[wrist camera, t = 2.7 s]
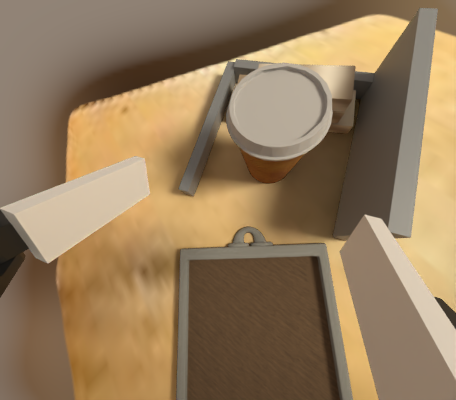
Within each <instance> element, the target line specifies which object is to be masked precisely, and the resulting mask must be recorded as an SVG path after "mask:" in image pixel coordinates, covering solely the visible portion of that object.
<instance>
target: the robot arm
mask: <svg viewBox="0 0 456 400" xmlns="http://www.w3.org/2000/svg"><path fill="white" fill-rule="evenodd" d="M148 195H150V190H149V184H148V177H147V170H146V164H145V159H144V158H140V157H137V156H134V157H131V158H129V159H126V160H124V161H121V162H118V163H116V164H113V165H111V166H108V167H105V168H103V169H100V170H98V171H95V172H92V173H90V174H87V175H85V176H82V177H79V178H77V179H74V180H72V181H69V182H66V183H64V184H61V185H59V186H56V187H53V188H51V189H49V190H46V191H43V192H41V193H38V194H35V195H33V196H30V197H27V198H25V199H22V200H20V201H17V202H15V203H12V204H9V205H7V206H4V207H1V208H0V297H1V295H2V294H3V293H4V291H5V289H6V288H7V286H8V285H9V283H10V281H11V280H12V278H13V277H14V275H15V274H16V272H17V270H18V269H19V267H20V266H21V264H22V262H23V261H24V259H25V254H24V253H23V252H24V251H25V250H27V249H30V251H31V252H32V253H33V255H34V256H35V258H37V259H39V260H41V261H43V262H46V263H49V262H51V261H52V260H54V259H55V258H57V257H58V256H60V255H61V254H63V253H64V252H66V251H67V250H69V249H70V248H72V247H73V246H75V245H76V244H78V243H79V242H80V241H82V240H83V239H85V238H86V237H88V236H89V235H91V234H92V233H94V232H95V231H97V230H98V229H100V228H101V227H102V226H104V225H105V224H107V223H108V222H110V221H111V220H113V219H114V218H116V217H117V216H119V215H120V214H122V213H123V212H125V211H126V210H127V209H129V208H130V207H132V206H133V205H135V204H136V203H138V202H139V201H141V200H142V199H144V198H145V197H147V196H148ZM340 255H341V258H342V262H343V266H344V270H345V274H346V277H347V281H348V285H349V289H350V292H351V296H352V300H353V304H354V308H355V311H356V315H357V319H358V323H359V326H360V330H361V334H362V338H363V341H364V345H365V349H366V353H367V357H368V360H369V364H370V368H371V372H372V375H373V379H374V383H375V387H376V391H377V394H378V398H379V400H456V313H455V312H454V311H453V310H452V309H451V308H450V307H449V306H448V305H447V304H446V303H445V302H444V301H443V300H442V299H440V298H437V297H434V296H433V295H432V293H431V292H430V290H429V289H428V287H427V286H426V284H425V283H424V281H423V280H422V278H421V277H420V275H419V274H418V272H417V271H416V269H415V268H414V266H413V265H412V264H411V262H410V261H409V259H408V258H407V256H406V255H405V253H404V252H403V250H402V249H401V247H400V246H399V244H398V243H397V241H396V240H395V238H394V237H393V235H392V234H391V232H390V231H389V229H388V228H387V226H386V225H385V223H384V222H383V220H382V219H380V218H376V217H372V216H369V215H365V214H364V216H363V217H362V219H361V220H360V222H359V223H358V225H357V226H356V228H355V229H354V231H353V232H352V234H351V235H350V237H349V238H348V240H347V241H346V243H345V244H344V246H343V247H342V249H341V250H340Z"/></svg>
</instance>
